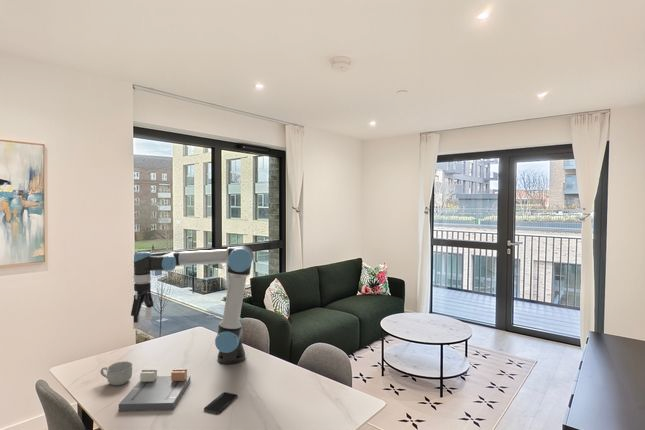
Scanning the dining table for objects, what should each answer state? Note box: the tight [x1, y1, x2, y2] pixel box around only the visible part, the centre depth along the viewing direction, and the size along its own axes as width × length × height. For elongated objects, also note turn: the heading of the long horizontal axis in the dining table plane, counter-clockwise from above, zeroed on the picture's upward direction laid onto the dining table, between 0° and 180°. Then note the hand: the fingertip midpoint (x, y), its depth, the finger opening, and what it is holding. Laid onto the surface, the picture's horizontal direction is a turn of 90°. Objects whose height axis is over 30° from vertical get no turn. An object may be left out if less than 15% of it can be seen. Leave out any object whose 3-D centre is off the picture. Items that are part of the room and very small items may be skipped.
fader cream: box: [139, 368, 158, 382], centre depth 167 cm, size 6×4×4 cm, turn 94°
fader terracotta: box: [170, 367, 188, 381], centre depth 168 cm, size 6×4×4 cm, turn 94°
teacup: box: [100, 360, 133, 387], centre depth 171 cm, size 14×11×8 cm
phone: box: [203, 391, 238, 415], centre depth 154 cm, size 8×1×15 cm
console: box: [118, 375, 191, 412], centre depth 160 cm, size 22×24×3 cm
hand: (142, 324), depth 181 cm, fingers open, 13 cm apart
